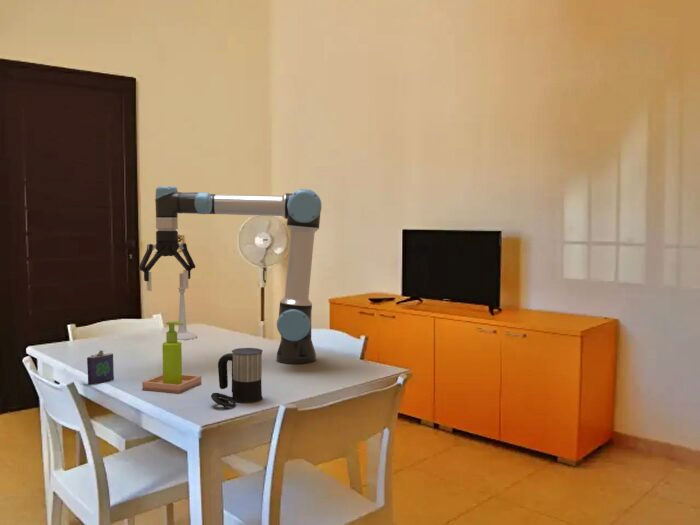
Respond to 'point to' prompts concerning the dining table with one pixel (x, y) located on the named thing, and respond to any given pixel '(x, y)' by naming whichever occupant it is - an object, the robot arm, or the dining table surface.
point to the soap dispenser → (172, 357)
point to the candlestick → (183, 315)
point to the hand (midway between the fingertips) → (167, 289)
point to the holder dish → (158, 384)
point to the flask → (100, 368)
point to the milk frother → (240, 377)
